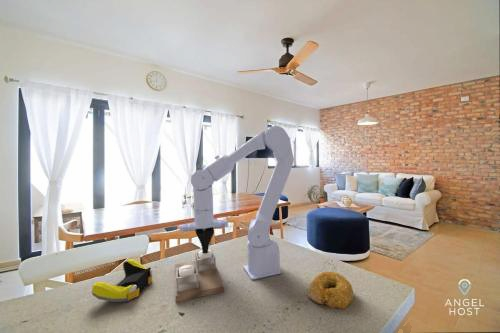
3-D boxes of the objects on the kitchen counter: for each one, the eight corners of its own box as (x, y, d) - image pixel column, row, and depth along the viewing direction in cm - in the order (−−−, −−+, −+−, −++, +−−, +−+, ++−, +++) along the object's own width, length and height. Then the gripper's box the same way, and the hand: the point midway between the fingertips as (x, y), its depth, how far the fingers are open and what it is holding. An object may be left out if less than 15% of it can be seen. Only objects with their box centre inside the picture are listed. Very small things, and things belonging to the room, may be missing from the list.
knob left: (194, 277, 61) (193, 263, 61) (195, 285, 57) (195, 270, 57) (179, 280, 60) (178, 266, 60) (179, 288, 56) (179, 273, 56)
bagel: (300, 288, 58) (300, 270, 58) (337, 283, 61) (337, 266, 60) (320, 315, 49) (320, 294, 48) (363, 307, 51) (363, 287, 51)
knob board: (212, 262, 73) (212, 247, 73) (223, 291, 57) (223, 272, 57) (175, 269, 69) (174, 253, 69) (175, 302, 53) (175, 282, 53)
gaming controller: (88, 308, 52) (127, 310, 51) (86, 286, 52) (126, 287, 51) (128, 274, 67) (159, 275, 66) (127, 257, 67) (158, 257, 66)
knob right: (210, 260, 71) (210, 248, 71) (212, 266, 67) (212, 253, 67) (198, 263, 69) (197, 250, 69) (199, 269, 66) (199, 255, 65)
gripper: (223, 204, 74) (224, 243, 74) (178, 208, 69) (180, 250, 69) (229, 208, 67) (230, 252, 68) (179, 213, 62) (180, 260, 63)
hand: (204, 252), depth 68 cm, fingers closed, pressing on knob right
